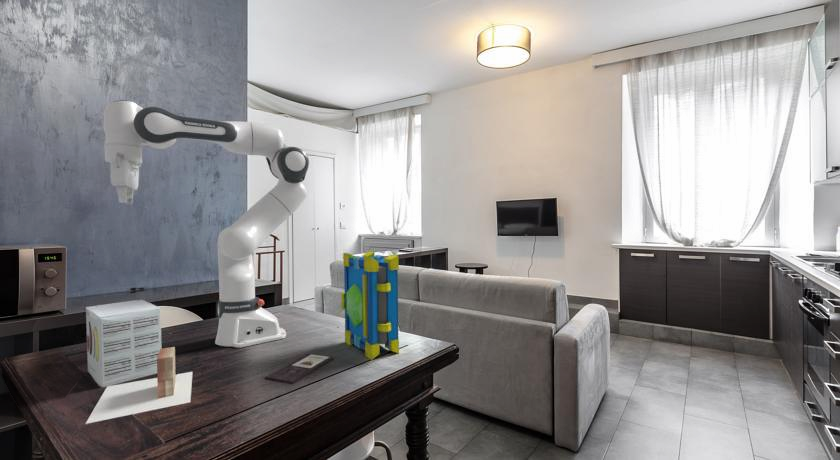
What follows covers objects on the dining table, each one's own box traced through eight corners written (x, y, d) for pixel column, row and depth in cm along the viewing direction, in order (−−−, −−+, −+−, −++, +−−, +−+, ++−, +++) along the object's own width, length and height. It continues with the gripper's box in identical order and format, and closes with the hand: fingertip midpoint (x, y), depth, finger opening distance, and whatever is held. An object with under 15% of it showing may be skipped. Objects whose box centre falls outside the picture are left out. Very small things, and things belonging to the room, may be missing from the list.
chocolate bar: (264, 377, 99) (307, 354, 116) (264, 380, 99) (307, 357, 116) (293, 381, 96) (333, 357, 113) (293, 385, 96) (333, 360, 113)
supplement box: (85, 373, 104) (83, 306, 104) (144, 359, 115) (142, 298, 114) (100, 391, 93) (98, 316, 93) (163, 373, 104) (162, 306, 103)
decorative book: (374, 335, 136) (373, 250, 136) (408, 353, 117) (407, 255, 116) (336, 342, 128) (334, 252, 128) (365, 363, 109) (364, 258, 108)
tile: (175, 382, 96) (174, 346, 96) (173, 395, 89) (172, 356, 89) (161, 385, 95) (160, 348, 94) (157, 398, 88) (156, 359, 87)
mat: (192, 373, 103) (192, 371, 103) (190, 404, 86) (190, 402, 86) (107, 388, 94) (107, 386, 94) (85, 426, 77) (85, 423, 77)
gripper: (131, 151, 107) (133, 201, 107) (142, 161, 125) (143, 204, 125) (102, 150, 104) (104, 201, 104) (117, 160, 122) (119, 204, 122)
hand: (125, 203), depth 115 cm, fingers open, 8 cm apart
